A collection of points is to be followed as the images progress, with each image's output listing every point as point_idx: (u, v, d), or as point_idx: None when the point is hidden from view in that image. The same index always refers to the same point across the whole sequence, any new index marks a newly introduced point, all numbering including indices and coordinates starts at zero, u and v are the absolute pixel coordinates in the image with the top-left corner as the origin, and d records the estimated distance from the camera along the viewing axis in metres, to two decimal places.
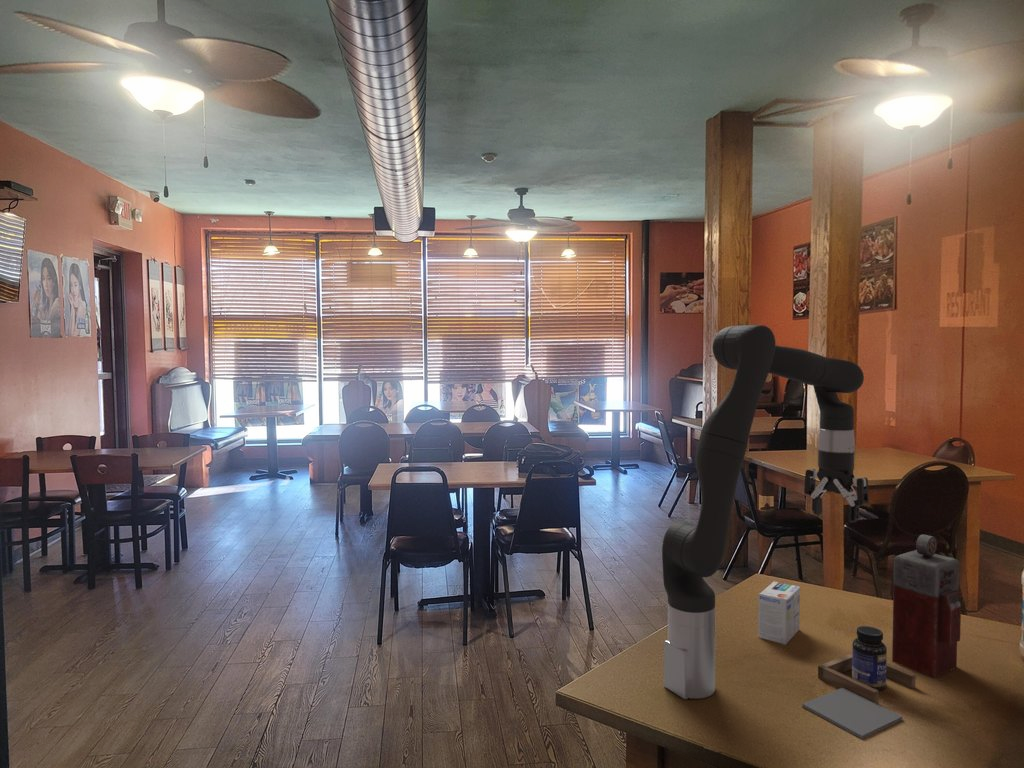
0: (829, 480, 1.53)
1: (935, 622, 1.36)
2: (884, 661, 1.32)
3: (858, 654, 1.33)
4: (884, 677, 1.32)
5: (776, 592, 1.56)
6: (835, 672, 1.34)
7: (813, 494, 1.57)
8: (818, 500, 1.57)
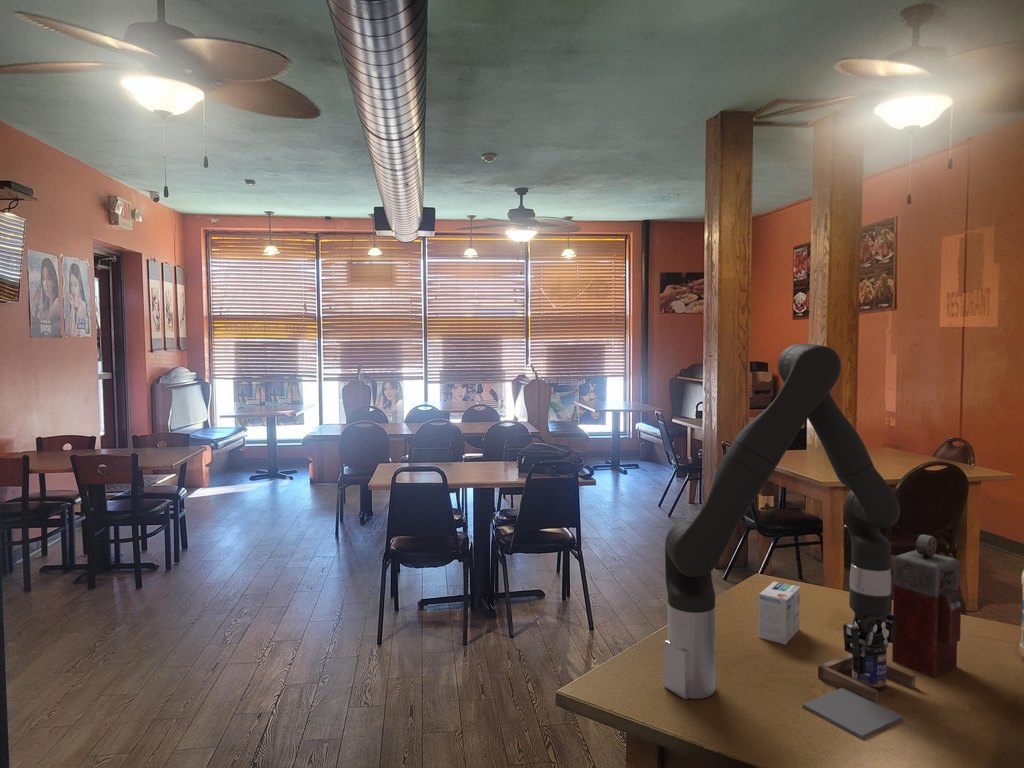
0: None
1: (935, 622, 1.36)
2: (884, 661, 1.32)
3: None
4: (884, 677, 1.32)
5: (776, 592, 1.56)
6: (835, 672, 1.34)
7: (864, 652, 1.31)
8: None
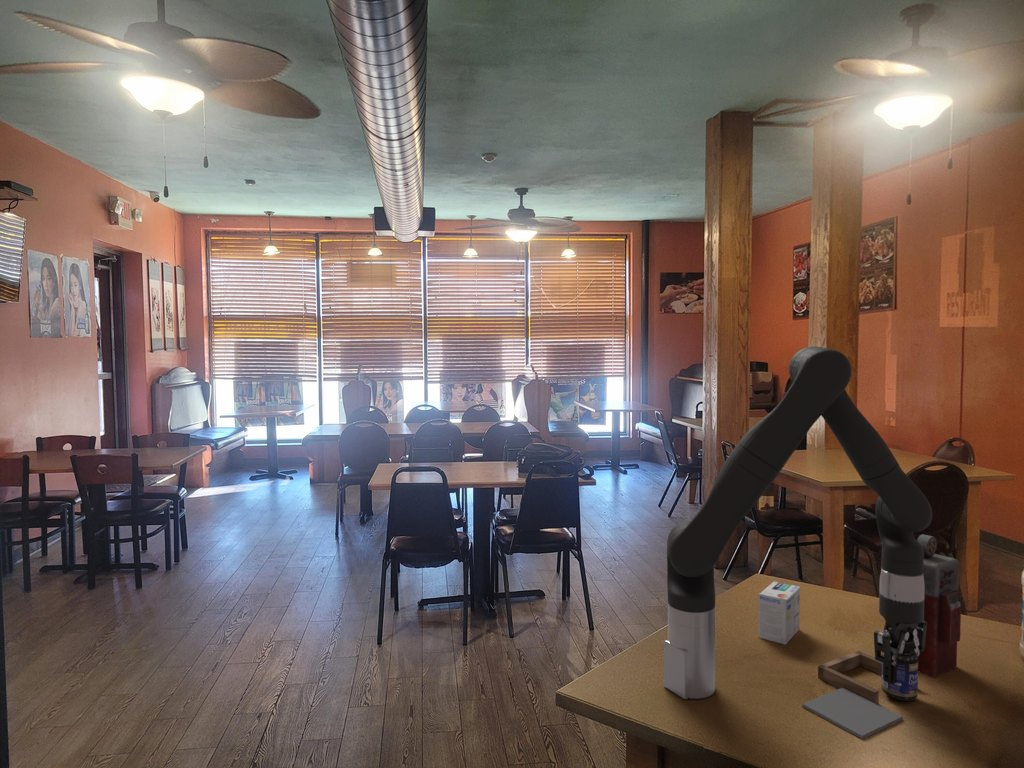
0: None
1: (935, 622, 1.36)
2: (916, 670, 1.27)
3: None
4: (916, 687, 1.27)
5: (776, 592, 1.56)
6: (835, 672, 1.34)
7: (895, 661, 1.26)
8: None
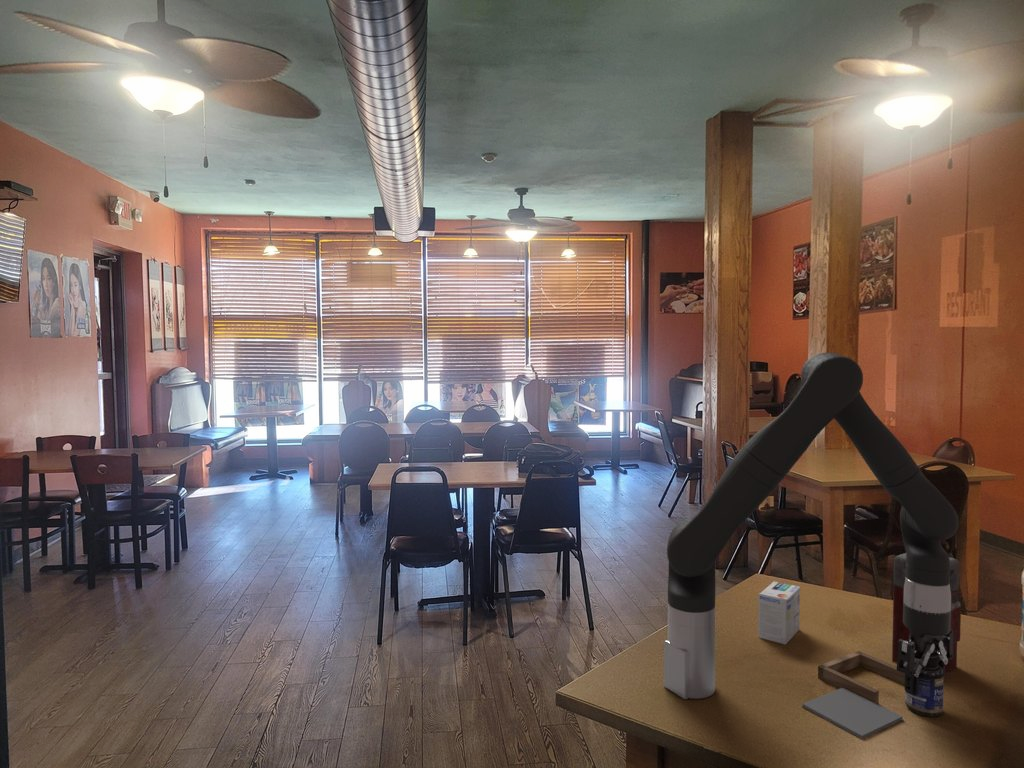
0: None
1: None
2: (941, 685, 1.22)
3: None
4: (941, 702, 1.23)
5: (776, 592, 1.56)
6: (835, 672, 1.34)
7: (917, 671, 1.21)
8: None
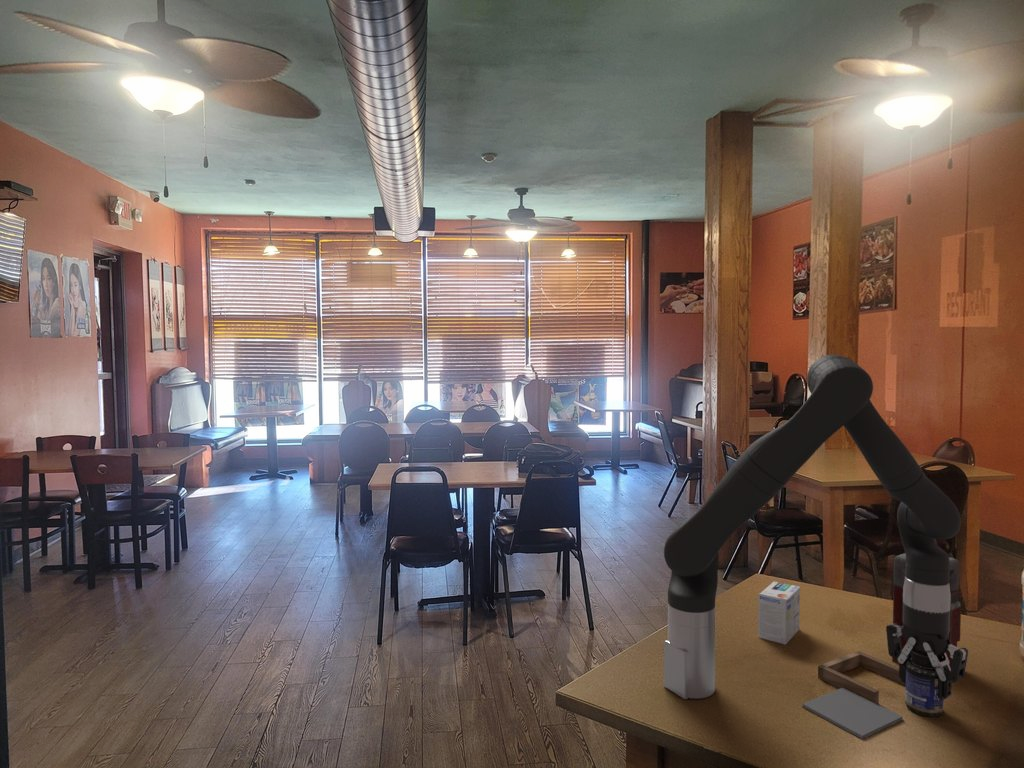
0: None
1: None
2: None
3: (913, 677, 1.24)
4: (941, 702, 1.23)
5: (776, 592, 1.56)
6: (835, 672, 1.34)
7: None
8: None
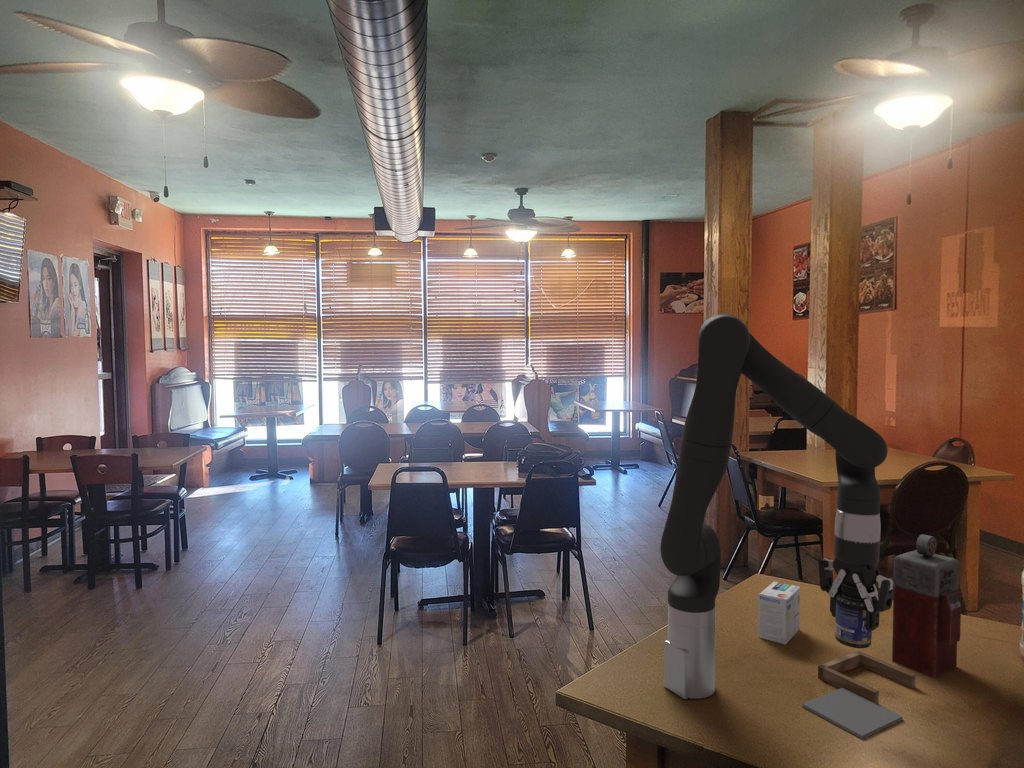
0: None
1: (935, 622, 1.36)
2: None
3: (842, 609, 1.22)
4: (869, 634, 1.21)
5: (776, 592, 1.56)
6: (835, 672, 1.34)
7: None
8: None
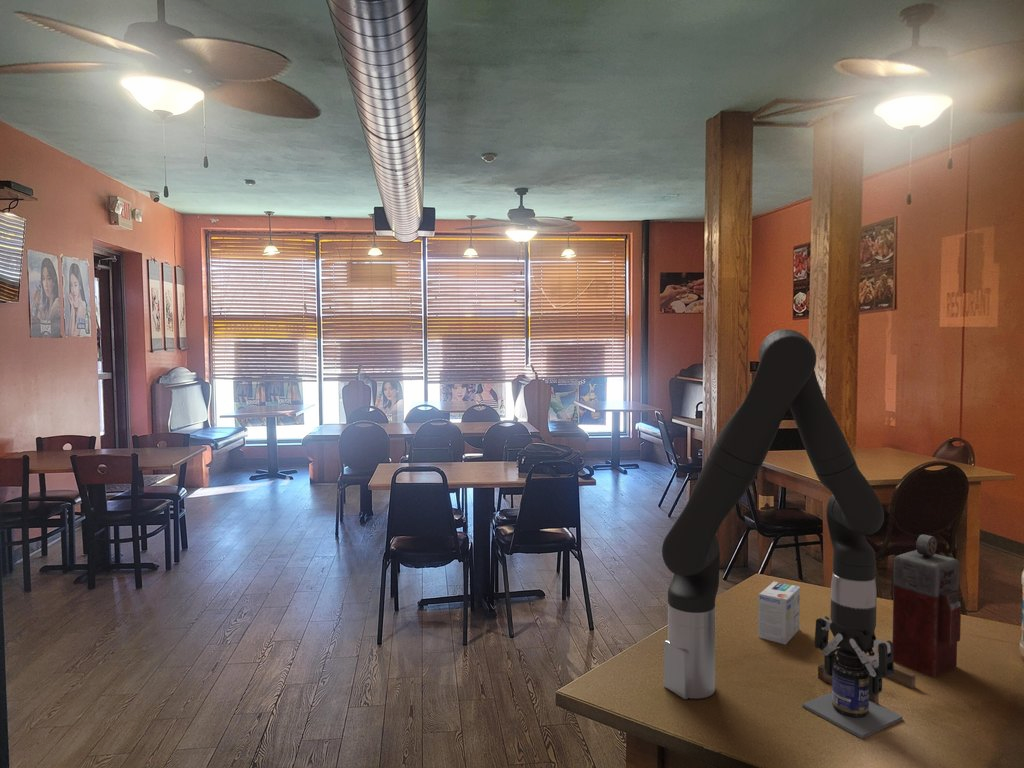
0: None
1: (935, 622, 1.36)
2: (866, 686, 1.21)
3: (838, 678, 1.23)
4: (866, 703, 1.22)
5: (776, 592, 1.56)
6: None
7: None
8: None
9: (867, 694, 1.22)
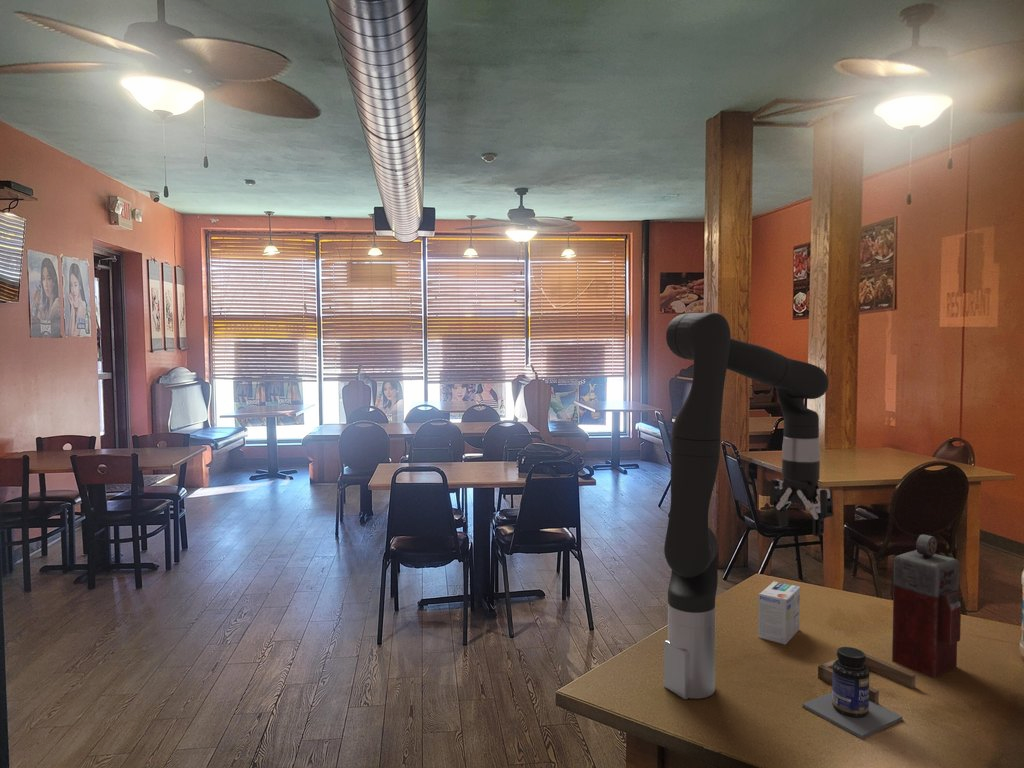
0: None
1: (935, 622, 1.36)
2: (866, 686, 1.21)
3: (838, 678, 1.23)
4: (866, 703, 1.22)
5: (776, 592, 1.56)
6: None
7: None
8: None
9: (867, 694, 1.22)
